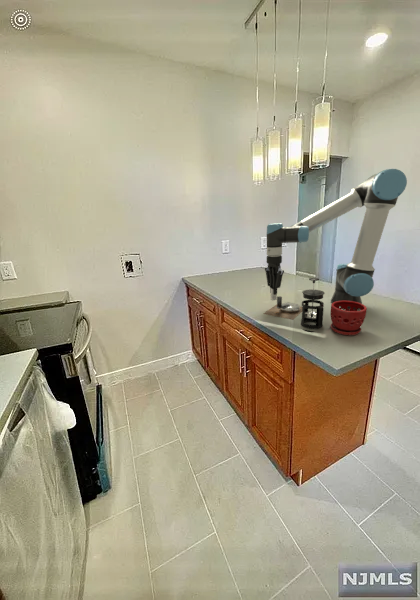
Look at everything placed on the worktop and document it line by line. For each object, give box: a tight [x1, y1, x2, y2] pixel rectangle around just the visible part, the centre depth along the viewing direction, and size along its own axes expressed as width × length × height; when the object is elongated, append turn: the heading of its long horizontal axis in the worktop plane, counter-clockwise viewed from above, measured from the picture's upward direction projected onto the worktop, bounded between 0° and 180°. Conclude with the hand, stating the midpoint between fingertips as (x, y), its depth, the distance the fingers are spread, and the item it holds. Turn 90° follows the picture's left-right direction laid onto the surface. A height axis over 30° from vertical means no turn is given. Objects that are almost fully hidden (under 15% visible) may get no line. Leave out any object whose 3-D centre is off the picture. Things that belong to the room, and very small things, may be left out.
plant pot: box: [330, 301, 368, 336], centre depth 105 cm, size 13×13×12 cm
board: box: [263, 303, 302, 321], centre depth 131 cm, size 16×19×2 cm
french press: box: [300, 277, 325, 333], centre depth 109 cm, size 12×9×23 cm
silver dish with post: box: [276, 295, 301, 313], centre depth 130 cm, size 13×10×8 cm
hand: (273, 299), depth 132 cm, fingers closed
